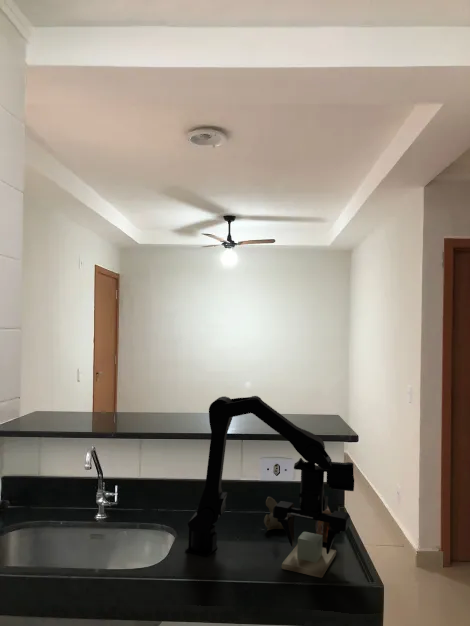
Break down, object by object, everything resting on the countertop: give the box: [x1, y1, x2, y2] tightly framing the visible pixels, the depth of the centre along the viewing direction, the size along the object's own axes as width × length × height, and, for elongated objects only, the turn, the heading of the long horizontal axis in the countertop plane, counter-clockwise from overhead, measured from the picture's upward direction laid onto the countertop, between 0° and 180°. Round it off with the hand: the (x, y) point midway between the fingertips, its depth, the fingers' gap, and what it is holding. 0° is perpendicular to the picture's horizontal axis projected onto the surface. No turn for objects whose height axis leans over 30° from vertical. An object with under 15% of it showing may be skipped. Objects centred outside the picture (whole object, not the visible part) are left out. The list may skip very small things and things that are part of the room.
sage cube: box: [297, 531, 323, 563], centre depth 135 cm, size 5×5×5 cm
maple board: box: [281, 543, 337, 579], centre depth 135 cm, size 10×14×1 cm
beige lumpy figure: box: [263, 496, 284, 531], centre depth 156 cm, size 9×6×10 cm
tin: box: [314, 505, 333, 544], centre depth 151 cm, size 15×3×8 cm, turn 178°
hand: (309, 549), depth 135 cm, fingers open, 9 cm apart
